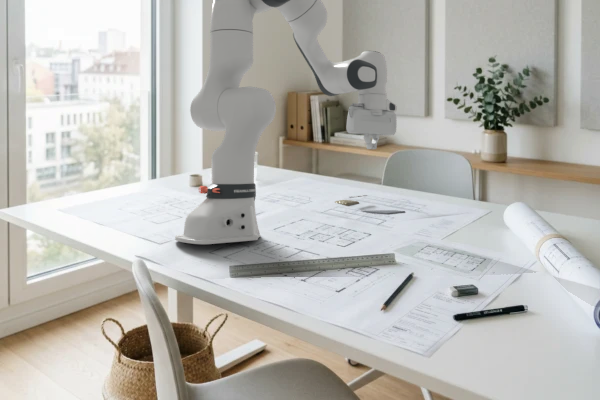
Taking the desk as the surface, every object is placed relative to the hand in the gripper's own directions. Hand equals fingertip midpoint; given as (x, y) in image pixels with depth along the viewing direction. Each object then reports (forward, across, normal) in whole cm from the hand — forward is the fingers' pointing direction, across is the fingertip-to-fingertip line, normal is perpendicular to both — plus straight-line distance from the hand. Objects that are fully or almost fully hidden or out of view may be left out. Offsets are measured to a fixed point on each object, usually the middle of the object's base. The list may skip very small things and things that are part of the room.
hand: (371, 149), depth 189 cm
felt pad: (+20, +1, -4) cm, 20 cm away
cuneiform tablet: (+17, +1, +5) cm, 18 cm away
